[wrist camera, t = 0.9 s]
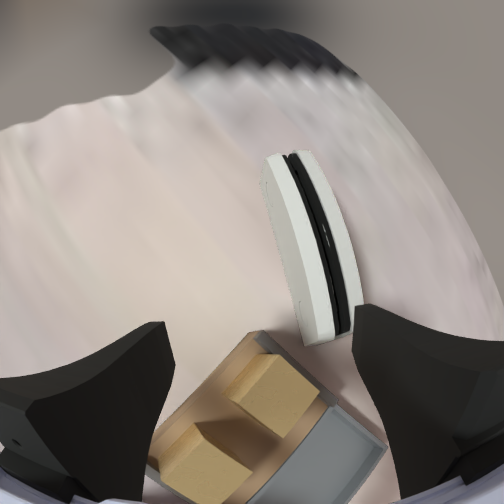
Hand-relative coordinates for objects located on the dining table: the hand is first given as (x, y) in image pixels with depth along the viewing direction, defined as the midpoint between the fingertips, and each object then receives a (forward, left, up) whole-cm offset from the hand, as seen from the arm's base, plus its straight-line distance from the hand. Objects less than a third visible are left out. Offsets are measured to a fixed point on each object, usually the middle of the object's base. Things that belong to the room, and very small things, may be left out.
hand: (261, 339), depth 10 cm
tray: (-3, -17, -13) cm, 22 cm away
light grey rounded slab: (+12, -1, -13) cm, 18 cm away
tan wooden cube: (0, -5, -10) cm, 12 cm away
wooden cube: (-7, -5, -11) cm, 14 cm away
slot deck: (-3, -7, -13) cm, 15 cm away
